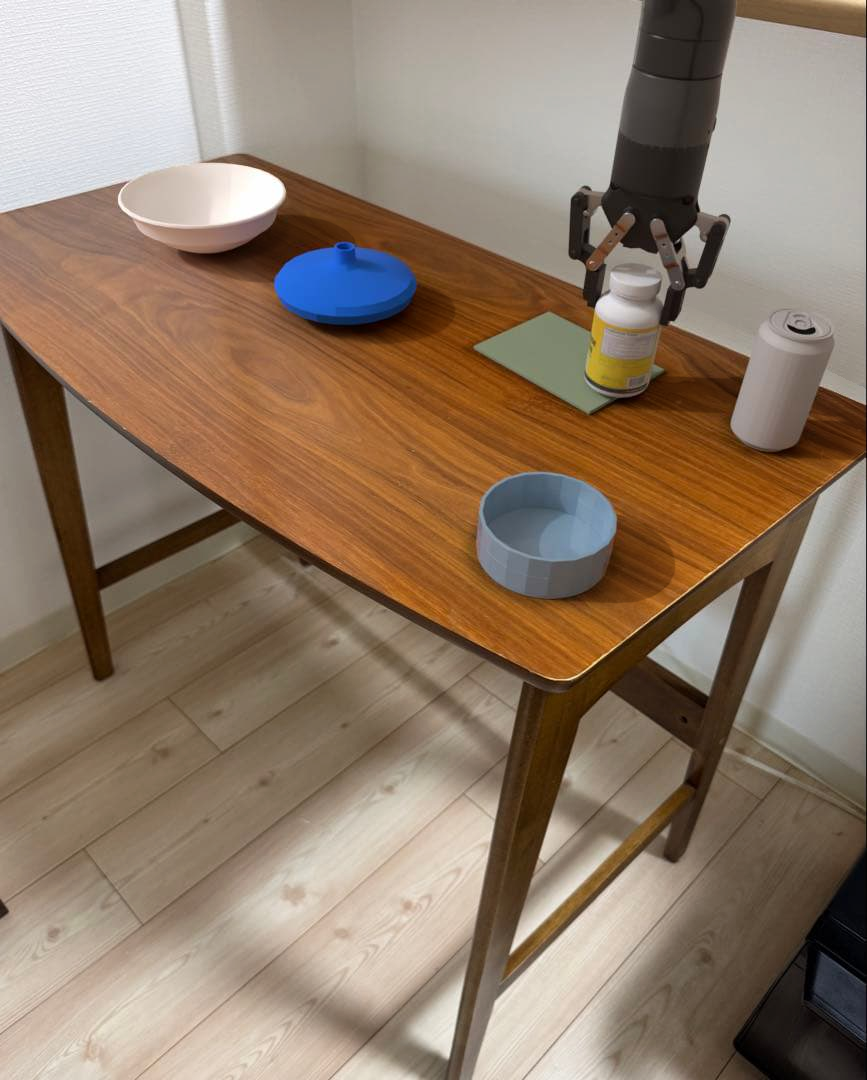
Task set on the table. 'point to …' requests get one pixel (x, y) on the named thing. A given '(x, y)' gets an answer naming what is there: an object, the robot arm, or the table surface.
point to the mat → (550, 358)
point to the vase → (345, 285)
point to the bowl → (203, 205)
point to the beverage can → (782, 378)
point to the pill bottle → (625, 332)
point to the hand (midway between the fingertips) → (629, 312)
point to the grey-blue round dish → (545, 534)
